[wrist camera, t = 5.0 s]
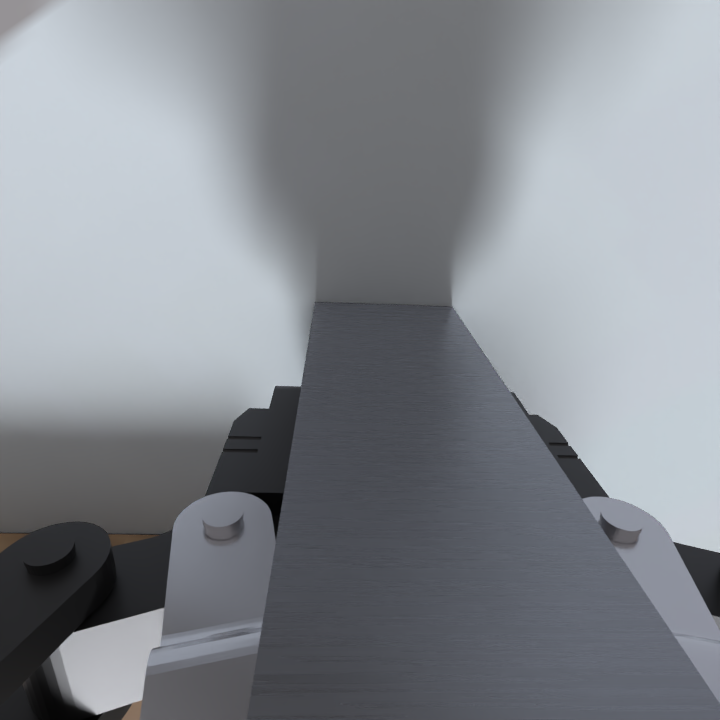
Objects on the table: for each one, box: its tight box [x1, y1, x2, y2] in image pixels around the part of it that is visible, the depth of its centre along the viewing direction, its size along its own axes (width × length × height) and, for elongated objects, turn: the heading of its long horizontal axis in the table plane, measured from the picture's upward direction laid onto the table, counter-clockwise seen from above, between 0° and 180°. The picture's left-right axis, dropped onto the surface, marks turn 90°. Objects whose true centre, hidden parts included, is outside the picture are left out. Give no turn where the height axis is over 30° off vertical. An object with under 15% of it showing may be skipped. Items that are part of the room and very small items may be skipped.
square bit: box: [247, 302, 720, 720], centre depth 9 cm, size 4×4×11 cm
